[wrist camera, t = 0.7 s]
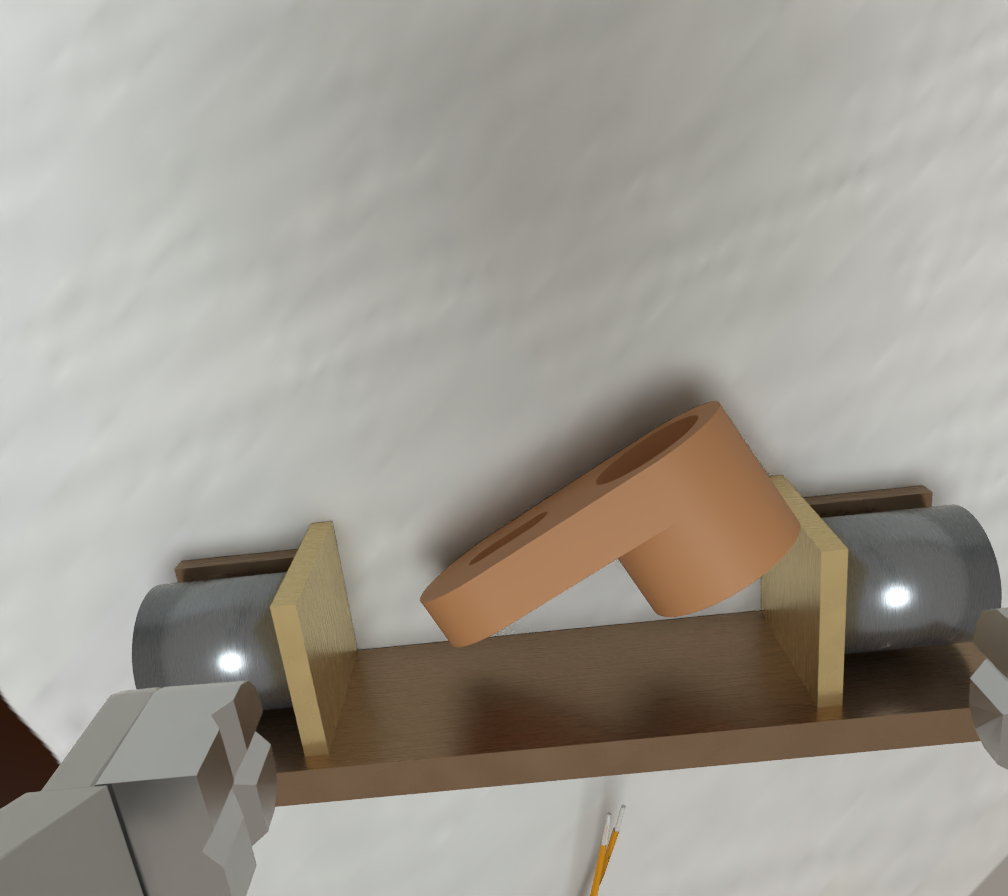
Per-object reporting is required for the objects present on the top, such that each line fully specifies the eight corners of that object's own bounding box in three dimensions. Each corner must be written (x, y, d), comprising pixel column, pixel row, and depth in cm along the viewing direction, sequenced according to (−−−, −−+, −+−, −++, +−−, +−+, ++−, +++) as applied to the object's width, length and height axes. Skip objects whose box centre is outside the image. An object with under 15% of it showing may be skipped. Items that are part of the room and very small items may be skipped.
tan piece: (729, 415, 35) (817, 546, 36) (710, 392, 43) (782, 499, 44) (402, 623, 39) (484, 738, 40) (440, 567, 47) (508, 663, 48)
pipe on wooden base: (157, 539, 47) (71, 637, 37) (943, 458, 45) (1060, 539, 36) (200, 694, 50) (132, 819, 41) (930, 623, 49) (1033, 736, 39)
